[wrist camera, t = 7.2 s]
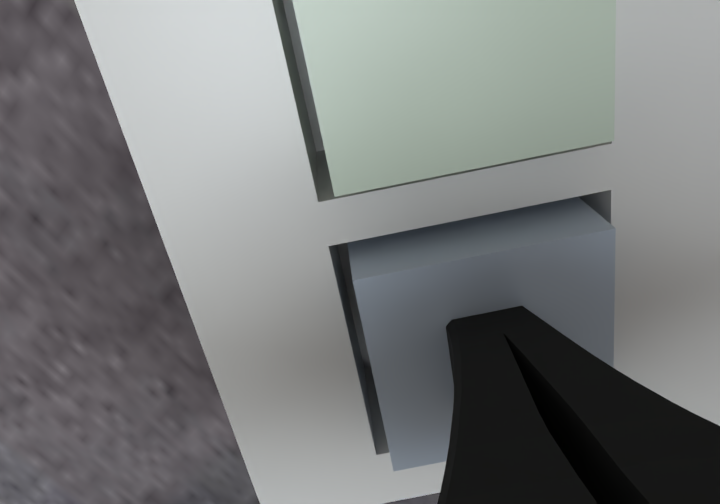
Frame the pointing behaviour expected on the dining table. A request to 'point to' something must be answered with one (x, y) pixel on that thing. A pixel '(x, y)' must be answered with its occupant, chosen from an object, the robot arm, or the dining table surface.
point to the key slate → (474, 303)
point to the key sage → (455, 83)
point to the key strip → (393, 222)
